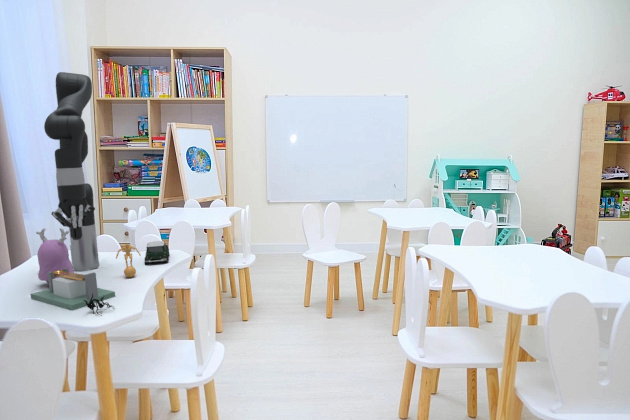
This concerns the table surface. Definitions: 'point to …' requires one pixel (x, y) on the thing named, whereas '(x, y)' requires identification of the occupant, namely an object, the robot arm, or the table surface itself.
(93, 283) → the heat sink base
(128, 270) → the figurine
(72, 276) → the strap
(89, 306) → the creature
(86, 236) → the robot arm
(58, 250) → the toy character
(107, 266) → the table surface
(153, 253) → the miniature car
